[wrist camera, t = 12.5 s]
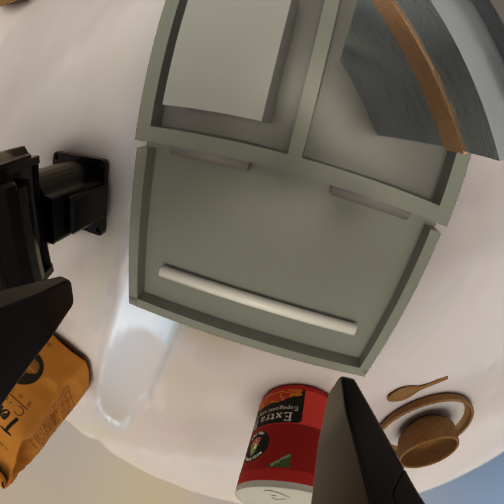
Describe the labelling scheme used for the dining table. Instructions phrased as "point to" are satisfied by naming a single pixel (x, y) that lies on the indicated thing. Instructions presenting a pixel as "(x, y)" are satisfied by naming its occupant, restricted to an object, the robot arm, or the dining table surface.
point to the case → (277, 186)
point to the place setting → (427, 428)
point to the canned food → (283, 447)
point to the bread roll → (6, 2)
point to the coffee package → (39, 406)
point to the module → (431, 71)
